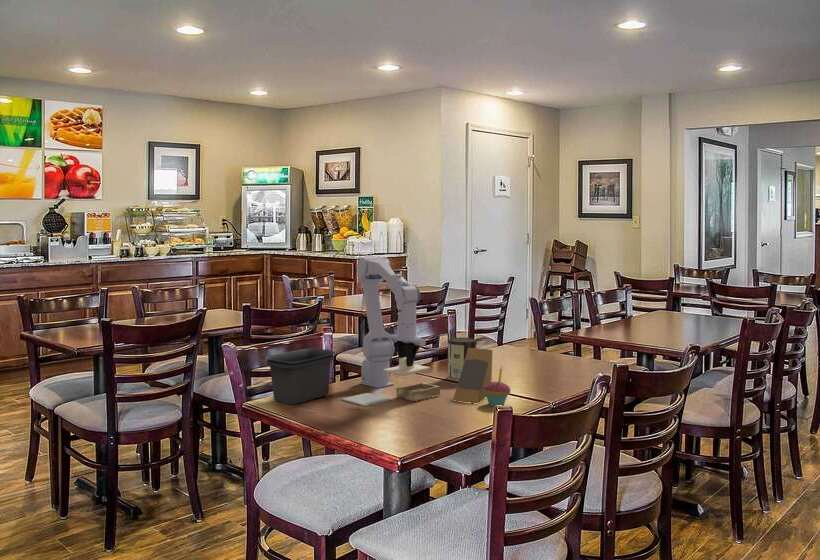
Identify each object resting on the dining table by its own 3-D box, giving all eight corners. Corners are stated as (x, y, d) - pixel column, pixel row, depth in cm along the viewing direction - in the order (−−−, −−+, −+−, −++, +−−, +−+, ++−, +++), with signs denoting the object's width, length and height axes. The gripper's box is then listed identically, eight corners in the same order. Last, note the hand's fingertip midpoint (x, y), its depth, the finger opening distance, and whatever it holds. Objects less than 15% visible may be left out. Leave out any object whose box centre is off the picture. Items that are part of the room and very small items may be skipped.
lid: (383, 373, 237) (383, 358, 236) (410, 367, 246) (410, 353, 245) (402, 377, 231) (402, 362, 230) (430, 371, 240) (430, 356, 239)
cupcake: (494, 399, 236) (495, 362, 235) (516, 404, 230) (516, 366, 229) (477, 404, 230) (477, 366, 229) (498, 409, 224) (499, 370, 223)
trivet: (341, 400, 234) (341, 398, 234) (367, 394, 242) (367, 392, 242) (364, 406, 227) (364, 404, 227) (390, 400, 235) (390, 398, 235)
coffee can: (474, 375, 273) (475, 337, 272) (477, 381, 262) (477, 342, 261) (446, 375, 273) (447, 337, 272) (447, 381, 263) (448, 341, 261)
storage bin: (290, 408, 224) (290, 361, 222) (256, 400, 233) (256, 355, 232) (339, 395, 240) (339, 352, 239) (306, 388, 250) (306, 346, 249)
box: (396, 397, 238) (396, 388, 238) (422, 391, 247) (422, 382, 247) (414, 401, 233) (414, 392, 233) (440, 395, 241) (440, 386, 241)
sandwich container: (451, 401, 234) (451, 354, 233) (467, 391, 248) (467, 347, 247) (476, 405, 231) (477, 357, 229) (491, 394, 245) (492, 349, 243)
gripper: (382, 322, 239) (381, 363, 240) (415, 327, 229) (414, 370, 230) (397, 320, 244) (397, 360, 245) (430, 325, 234) (429, 367, 235)
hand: (406, 365), depth 238 cm, fingers closed on lid, 2 cm apart
